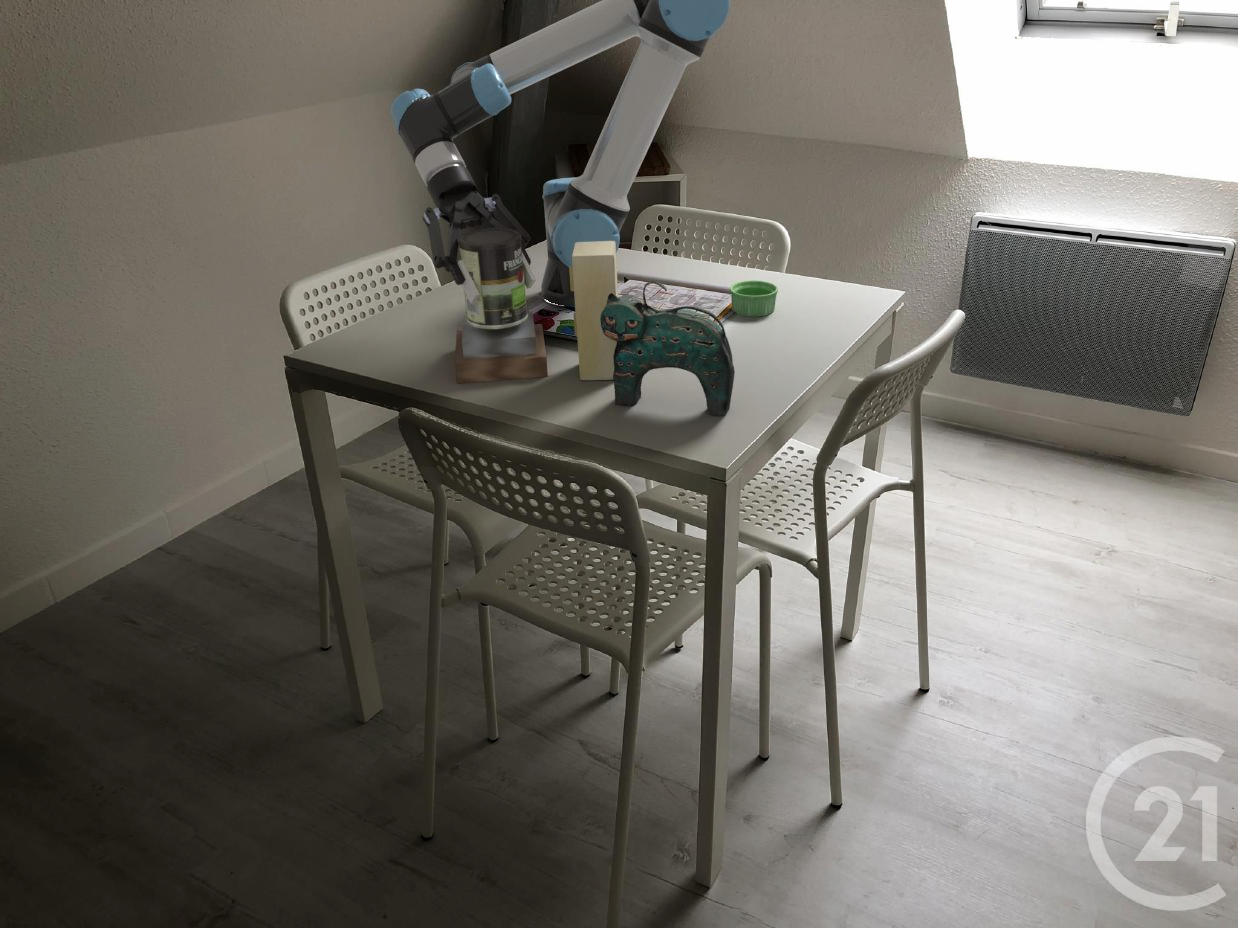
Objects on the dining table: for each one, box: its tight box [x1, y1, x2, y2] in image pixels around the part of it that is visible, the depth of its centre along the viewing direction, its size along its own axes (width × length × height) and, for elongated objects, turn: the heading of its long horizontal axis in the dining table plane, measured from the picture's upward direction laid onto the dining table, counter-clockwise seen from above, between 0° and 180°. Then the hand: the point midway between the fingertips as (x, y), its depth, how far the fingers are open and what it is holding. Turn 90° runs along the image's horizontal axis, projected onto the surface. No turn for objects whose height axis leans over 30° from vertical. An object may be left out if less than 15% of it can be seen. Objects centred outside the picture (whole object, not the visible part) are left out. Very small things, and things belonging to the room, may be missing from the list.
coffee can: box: [457, 228, 528, 329], centre depth 160 cm, size 10×10×14 cm
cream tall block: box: [569, 241, 619, 381], centre depth 157 cm, size 8×7×21 cm
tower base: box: [454, 311, 549, 384], centre depth 165 cm, size 15×15×6 cm
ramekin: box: [729, 280, 779, 318], centre depth 184 cm, size 9×9×4 cm
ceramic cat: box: [600, 280, 735, 417], centre depth 145 cm, size 20×6×20 cm, turn 71°
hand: (504, 291), depth 158 cm, fingers closed on coffee can, 10 cm apart
